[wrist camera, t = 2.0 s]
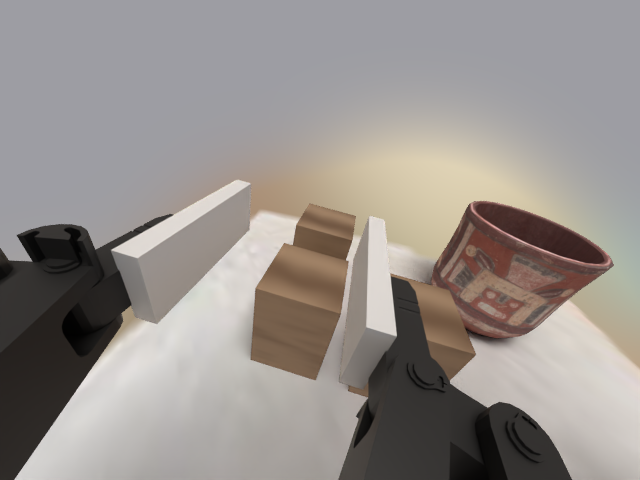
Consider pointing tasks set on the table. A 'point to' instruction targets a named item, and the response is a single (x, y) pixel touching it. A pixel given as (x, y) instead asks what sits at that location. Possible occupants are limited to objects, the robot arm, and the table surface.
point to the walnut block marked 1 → (325, 231)
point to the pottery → (513, 268)
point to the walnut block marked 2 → (439, 330)
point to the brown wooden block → (297, 310)
